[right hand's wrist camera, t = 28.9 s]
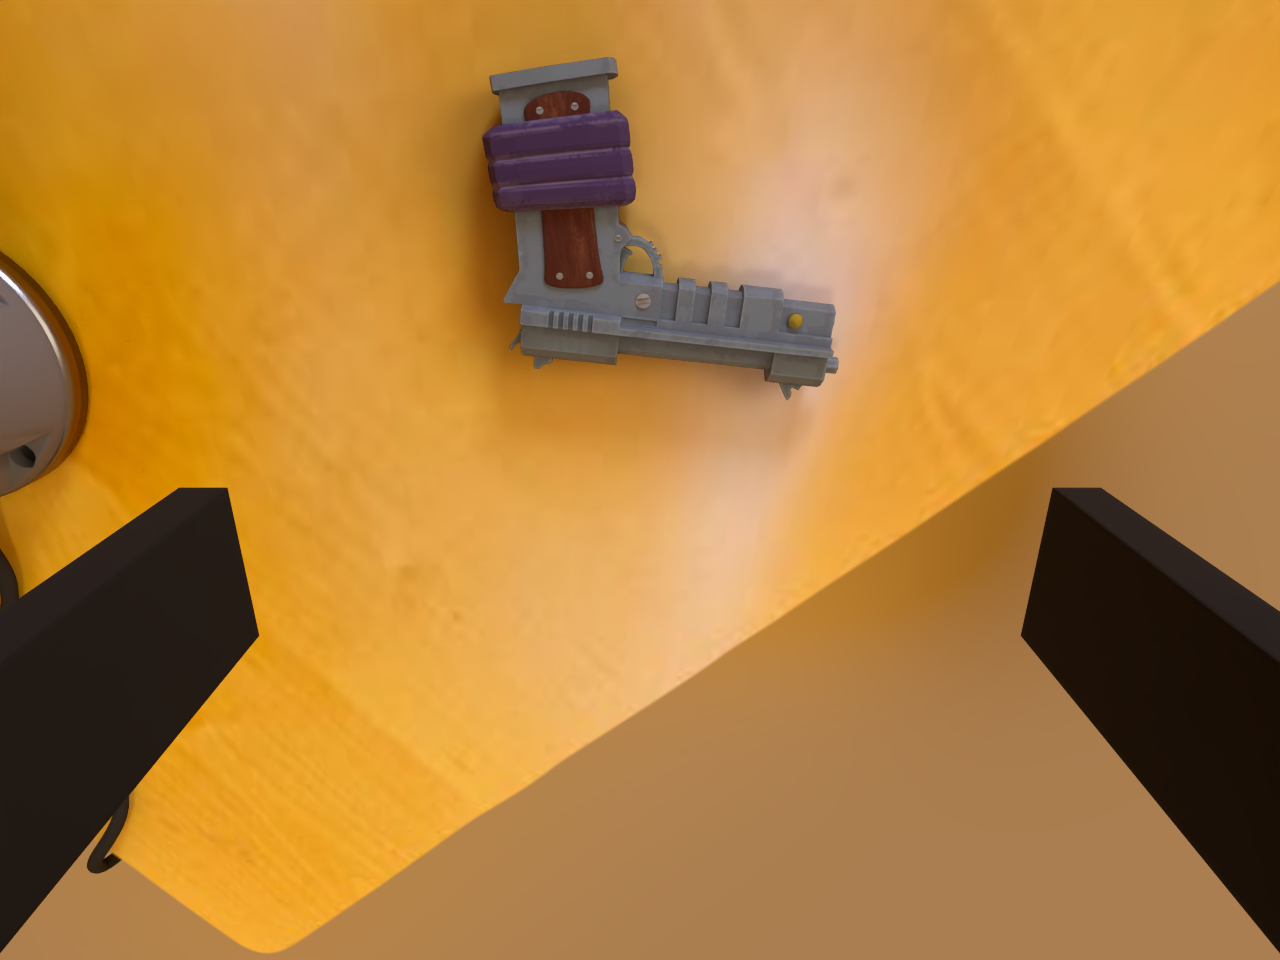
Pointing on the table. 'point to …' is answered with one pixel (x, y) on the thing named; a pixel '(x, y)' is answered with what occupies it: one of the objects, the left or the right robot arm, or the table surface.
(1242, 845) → the right robot arm
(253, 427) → the table surface
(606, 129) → the toy gun
